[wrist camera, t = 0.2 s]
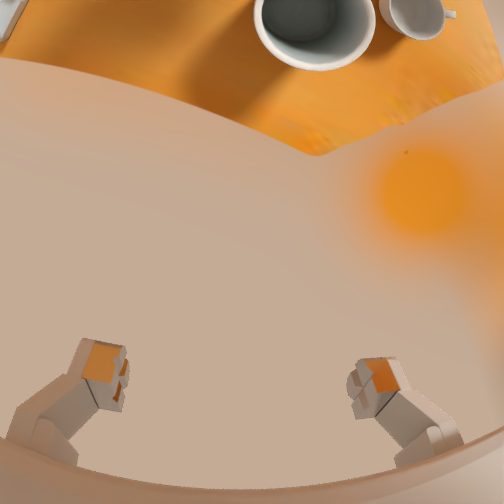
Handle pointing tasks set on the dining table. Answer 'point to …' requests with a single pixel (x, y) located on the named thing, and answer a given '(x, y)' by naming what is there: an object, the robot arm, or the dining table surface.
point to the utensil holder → (315, 31)
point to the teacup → (415, 17)
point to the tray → (10, 16)
